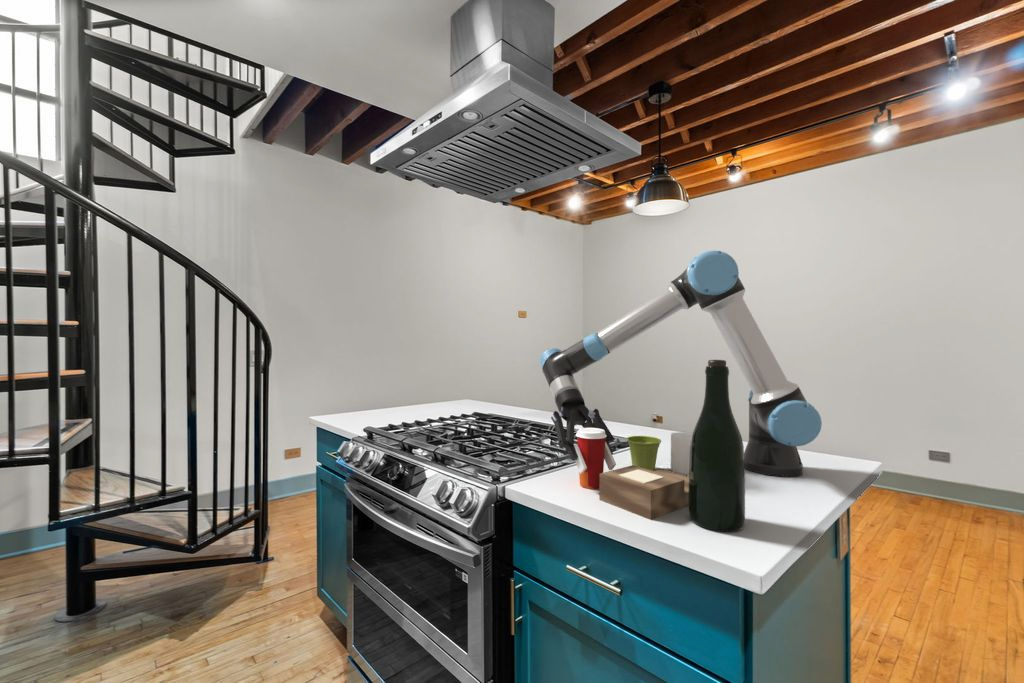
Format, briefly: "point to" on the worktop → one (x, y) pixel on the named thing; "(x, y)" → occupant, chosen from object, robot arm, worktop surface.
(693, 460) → the dark green wine bottle
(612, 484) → the step riser
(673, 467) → the mug
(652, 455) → the plant pot
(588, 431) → the paper cup
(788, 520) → the worktop surface
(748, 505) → the worktop surface
